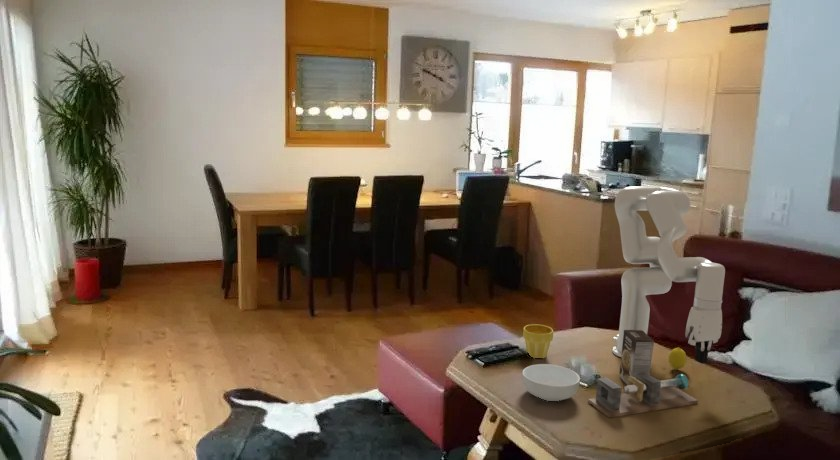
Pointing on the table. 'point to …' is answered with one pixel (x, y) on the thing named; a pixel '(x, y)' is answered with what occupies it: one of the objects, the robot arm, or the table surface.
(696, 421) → the table surface
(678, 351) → the lemon
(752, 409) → the table surface
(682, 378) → the shaft
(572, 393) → the cereal bowl
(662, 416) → the table surface
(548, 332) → the plant pot
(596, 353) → the table surface
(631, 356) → the coffee box
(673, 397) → the shaft frame
